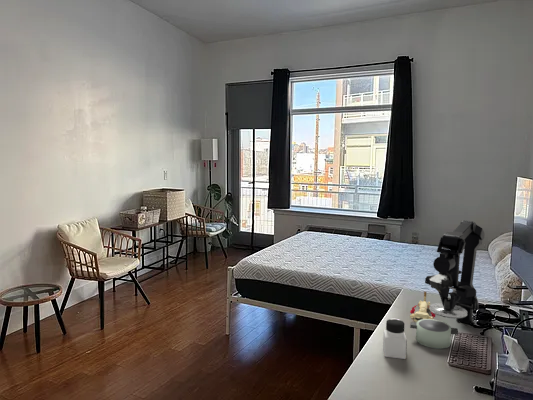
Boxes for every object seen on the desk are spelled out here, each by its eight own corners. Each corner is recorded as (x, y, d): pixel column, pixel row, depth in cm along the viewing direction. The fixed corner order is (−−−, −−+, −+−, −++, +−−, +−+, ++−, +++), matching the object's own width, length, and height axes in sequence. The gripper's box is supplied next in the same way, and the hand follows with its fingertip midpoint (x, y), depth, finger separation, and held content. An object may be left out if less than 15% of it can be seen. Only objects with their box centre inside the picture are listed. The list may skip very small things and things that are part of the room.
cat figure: (413, 307, 185) (407, 324, 162) (414, 289, 184) (408, 303, 162) (436, 311, 180) (434, 328, 158) (437, 292, 180) (435, 306, 157)
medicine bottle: (406, 359, 135) (407, 325, 134) (384, 357, 137) (385, 324, 135) (403, 349, 142) (404, 317, 141) (382, 347, 144) (383, 315, 142)
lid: (428, 303, 158) (429, 291, 158) (464, 308, 154) (465, 295, 153) (430, 315, 146) (430, 302, 145) (469, 320, 141) (470, 307, 141)
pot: (410, 330, 157) (410, 316, 156) (455, 337, 151) (456, 322, 150) (409, 344, 146) (410, 328, 145) (458, 352, 140) (459, 335, 139)
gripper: (415, 263, 153) (413, 302, 155) (456, 276, 136) (453, 320, 138) (436, 260, 158) (434, 298, 159) (478, 273, 141) (475, 315, 142)
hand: (448, 307), depth 150 cm, fingers closed on lid, 3 cm apart
